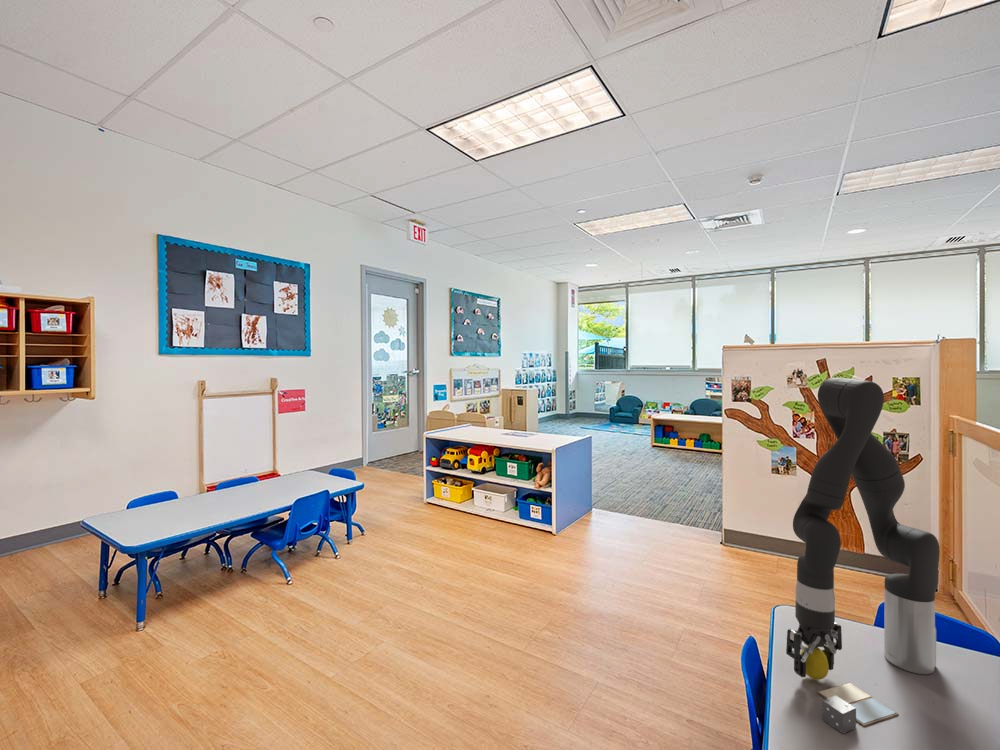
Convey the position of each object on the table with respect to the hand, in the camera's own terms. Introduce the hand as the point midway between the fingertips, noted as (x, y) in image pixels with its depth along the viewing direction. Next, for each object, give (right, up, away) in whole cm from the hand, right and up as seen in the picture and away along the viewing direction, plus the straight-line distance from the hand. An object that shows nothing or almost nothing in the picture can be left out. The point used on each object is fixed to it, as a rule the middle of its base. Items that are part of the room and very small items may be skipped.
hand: (814, 671), depth 106 cm
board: (+4, -2, -7) cm, 9 cm away
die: (-4, 0, -11) cm, 12 cm away
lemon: (0, -2, 0) cm, 2 cm away
